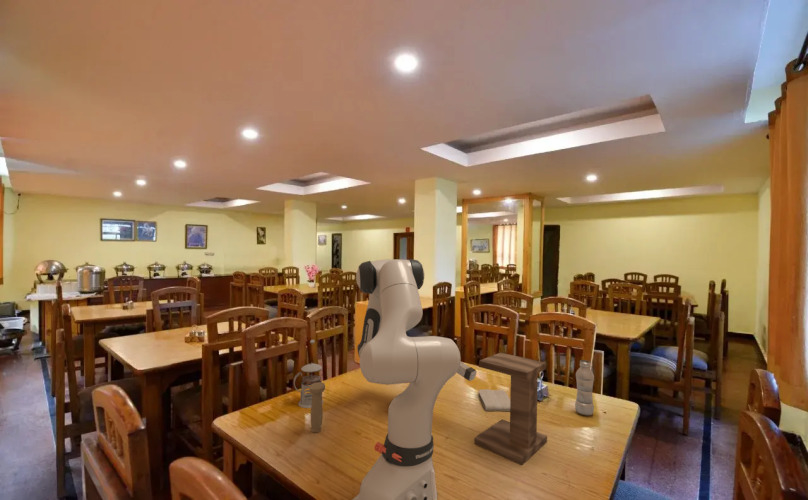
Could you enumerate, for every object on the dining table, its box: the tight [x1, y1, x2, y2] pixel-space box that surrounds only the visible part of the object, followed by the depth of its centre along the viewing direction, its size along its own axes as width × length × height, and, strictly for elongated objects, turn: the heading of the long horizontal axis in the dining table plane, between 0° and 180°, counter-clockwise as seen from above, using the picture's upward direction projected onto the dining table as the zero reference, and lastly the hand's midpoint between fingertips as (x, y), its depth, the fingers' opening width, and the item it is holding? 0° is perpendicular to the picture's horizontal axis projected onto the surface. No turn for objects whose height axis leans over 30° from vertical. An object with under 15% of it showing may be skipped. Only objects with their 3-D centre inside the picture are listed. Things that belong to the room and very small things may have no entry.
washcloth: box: [478, 388, 510, 413], centre depth 146 cm, size 12×18×3 cm, turn 179°
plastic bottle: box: [574, 359, 595, 416], centre depth 137 cm, size 6×7×20 cm
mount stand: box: [473, 352, 548, 466], centre depth 114 cm, size 18×16×26 cm
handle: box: [308, 382, 326, 434], centre depth 120 cm, size 5×6×15 cm
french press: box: [293, 339, 324, 409], centre depth 141 cm, size 10×12×25 cm
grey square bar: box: [456, 361, 477, 382], centre depth 129 cm, size 3×22×3 cm, turn 48°
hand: (435, 350), depth 133 cm, fingers closed on grey square bar, 3 cm apart
